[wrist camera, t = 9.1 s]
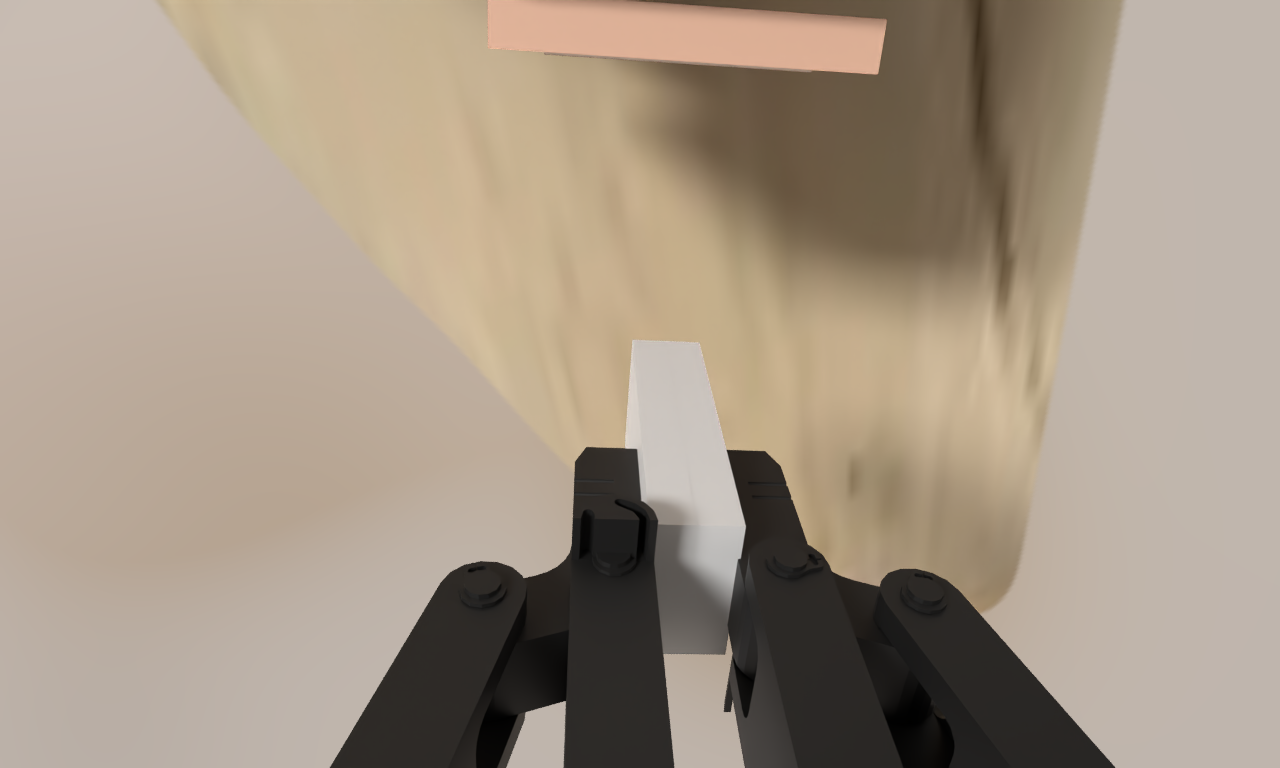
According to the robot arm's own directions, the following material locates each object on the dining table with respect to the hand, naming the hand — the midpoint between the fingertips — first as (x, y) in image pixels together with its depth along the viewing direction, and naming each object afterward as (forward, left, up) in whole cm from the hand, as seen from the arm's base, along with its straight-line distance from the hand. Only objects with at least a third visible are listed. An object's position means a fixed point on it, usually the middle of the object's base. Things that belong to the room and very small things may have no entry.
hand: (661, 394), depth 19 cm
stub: (-6, -6, -4) cm, 9 cm away
